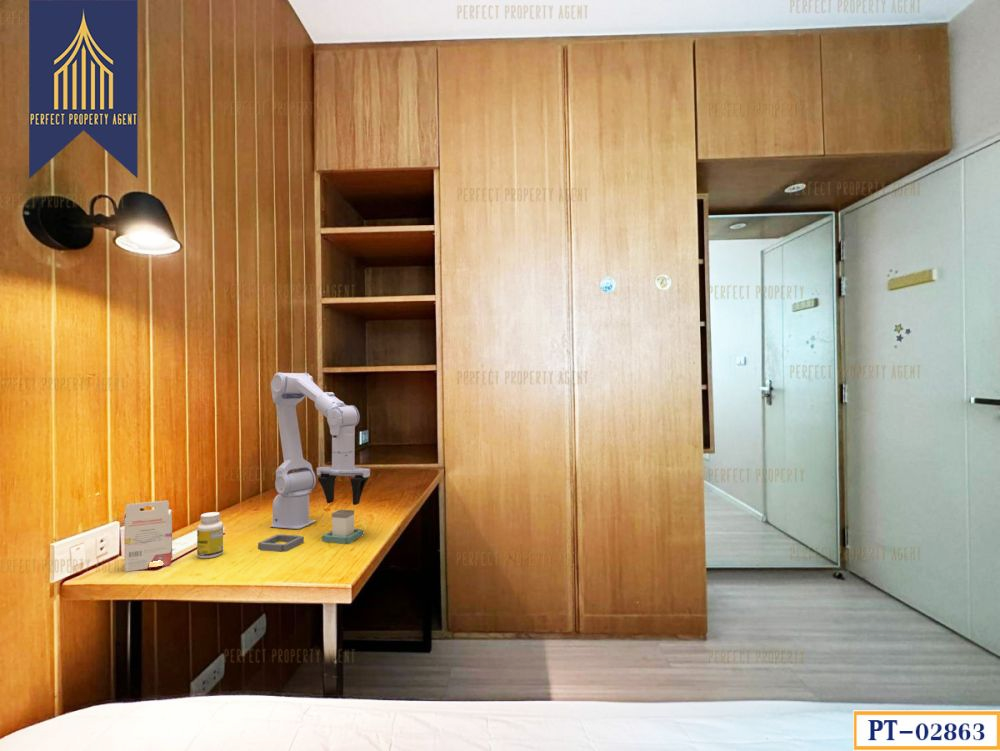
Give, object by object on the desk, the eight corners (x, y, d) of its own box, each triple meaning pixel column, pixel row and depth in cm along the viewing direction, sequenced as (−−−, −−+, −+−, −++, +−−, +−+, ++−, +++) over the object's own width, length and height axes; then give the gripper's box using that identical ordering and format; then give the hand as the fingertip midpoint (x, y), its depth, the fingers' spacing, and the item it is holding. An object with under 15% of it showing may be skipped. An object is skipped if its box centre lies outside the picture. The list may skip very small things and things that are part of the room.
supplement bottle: (192, 556, 121) (192, 514, 121) (216, 549, 125) (216, 510, 125) (204, 560, 118) (204, 518, 118) (227, 554, 122) (227, 513, 122)
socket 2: (320, 541, 131) (320, 536, 131) (337, 532, 139) (337, 527, 139) (348, 544, 129) (348, 538, 129) (364, 534, 137) (364, 529, 137)
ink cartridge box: (172, 559, 119) (173, 495, 119) (170, 565, 114) (170, 500, 114) (127, 565, 115) (128, 499, 115) (123, 572, 110) (123, 504, 110)
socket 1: (256, 549, 125) (256, 543, 125) (278, 539, 133) (278, 533, 133) (284, 551, 123) (284, 545, 123) (304, 541, 131) (305, 536, 131)
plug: (331, 540, 133) (331, 513, 133) (340, 535, 137) (340, 509, 137) (345, 541, 132) (346, 514, 132) (354, 536, 136) (354, 510, 136)
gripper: (310, 452, 132) (309, 505, 132) (360, 454, 129) (360, 508, 129) (325, 449, 139) (325, 499, 139) (373, 451, 136) (373, 502, 135)
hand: (343, 503), depth 134 cm, fingers open, 7 cm apart
